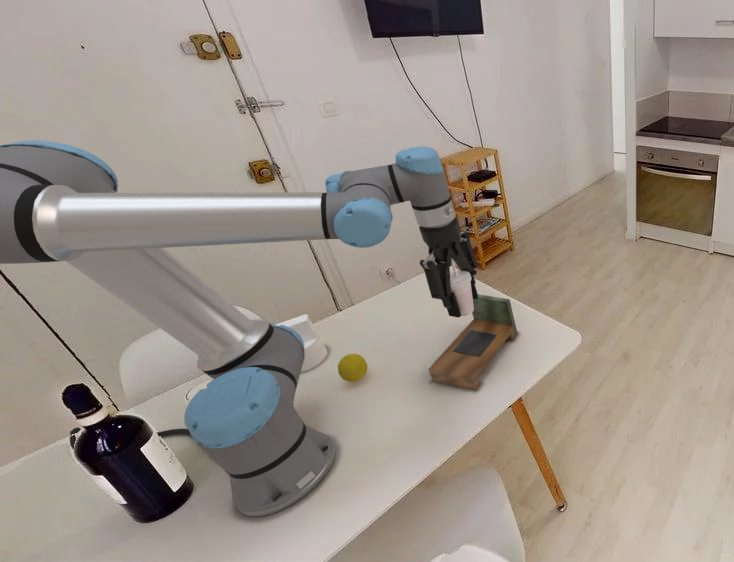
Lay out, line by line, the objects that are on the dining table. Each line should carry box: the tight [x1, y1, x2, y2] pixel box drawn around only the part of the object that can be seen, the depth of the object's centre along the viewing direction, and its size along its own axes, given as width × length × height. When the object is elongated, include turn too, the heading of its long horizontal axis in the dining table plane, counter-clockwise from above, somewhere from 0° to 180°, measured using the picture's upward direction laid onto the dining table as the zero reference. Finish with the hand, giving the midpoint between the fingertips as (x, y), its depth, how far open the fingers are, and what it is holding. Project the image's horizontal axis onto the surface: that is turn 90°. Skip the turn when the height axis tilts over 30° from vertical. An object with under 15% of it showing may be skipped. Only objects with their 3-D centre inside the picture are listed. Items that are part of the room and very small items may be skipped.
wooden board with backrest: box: [428, 293, 518, 391], centre depth 102 cm, size 12×19×12 cm, turn 165°
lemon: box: [337, 353, 368, 383], centre depth 97 cm, size 6×6×8 cm
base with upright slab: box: [275, 313, 328, 373], centre depth 102 cm, size 9×9×12 cm
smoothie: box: [450, 259, 474, 317], centre depth 94 cm, size 6×6×14 cm
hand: (464, 306), depth 97 cm, fingers closed on smoothie, 6 cm apart
